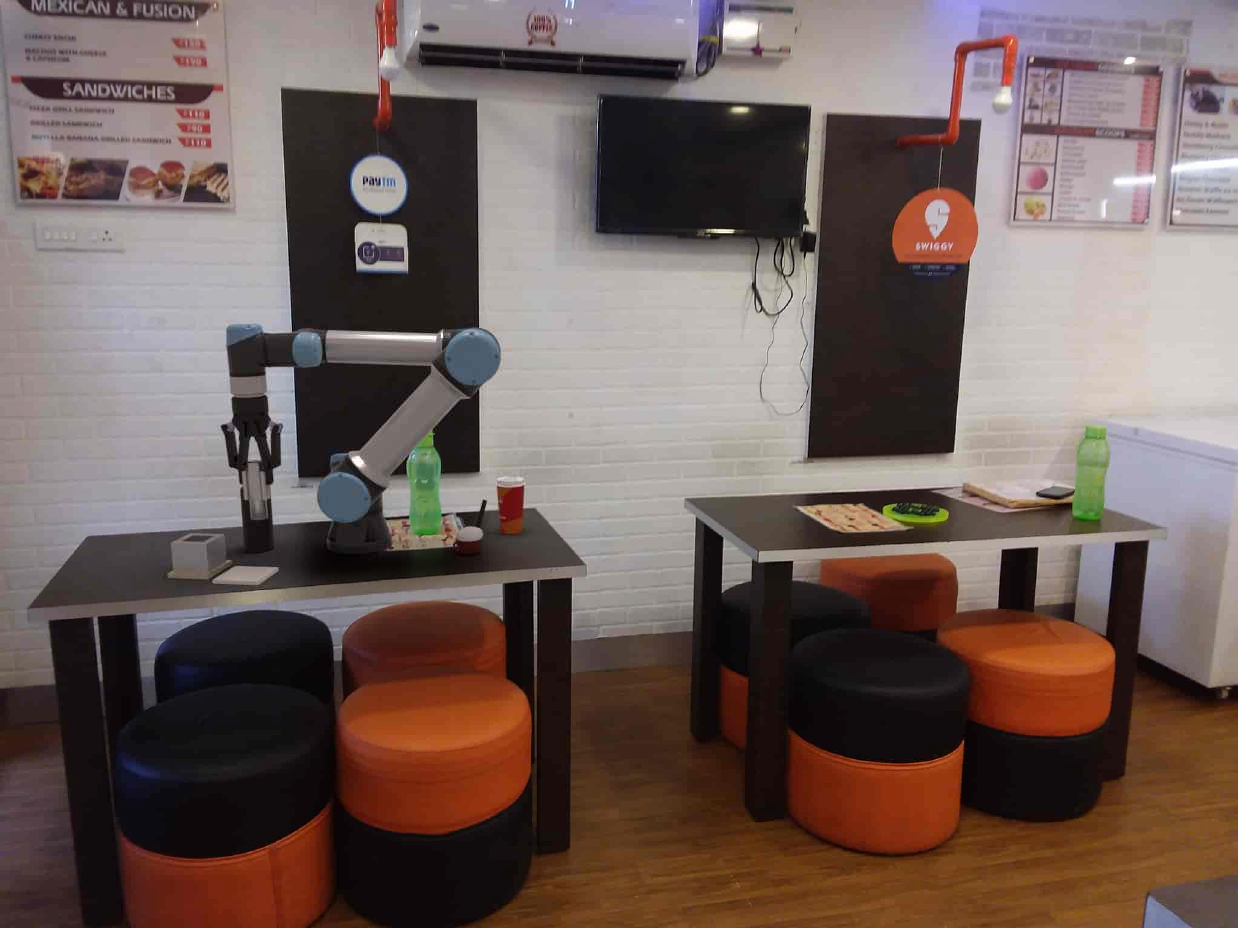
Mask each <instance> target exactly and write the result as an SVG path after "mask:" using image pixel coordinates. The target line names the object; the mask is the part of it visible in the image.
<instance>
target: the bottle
mask: <svg viewBox="0 0 1238 928" xmlns="http://www.w3.org/2000/svg"><path fill="white" fill-rule="evenodd" d="M246 469H247V468H246ZM239 494H240V495H239V498H240V508H241V520H242V521H241V522H242V523H241V525H242V534H243V535H242V536H243V549H244V551H245V552H248V553H265V552H269V551H271V550H273V549H274V548H275V537H274V536H275V535H274V520H273V505H272V504H273V503H272V497H271V498H269V499H267V511H268V518H267V519H263V520H251V513H250V501H249V500H244V490H243V485H242V486H241V487H240V489H239Z"/></svg>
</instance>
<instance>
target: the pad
mask: <svg viewBox="0 0 1238 928" xmlns="http://www.w3.org/2000/svg"><path fill="white" fill-rule="evenodd" d="M278 572H279V567H277V566H276V567H274V566H246V565H235V566H232V567H231V568H230V569H228V570H227V571H225V572H223V573H221V574H220V575H218V576H216V577H215V578H214V579H212V584H214V585H215V584H217V585H218V584H219V585H237V586H238V585H240V586H241V585H244V586H259V585H261V584H262V583H263V582H265V581H266V580H267V579H269V578H271V577H272V576H273V575H275V574H277V573H278Z"/></svg>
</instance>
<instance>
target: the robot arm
mask: <svg viewBox="0 0 1238 928" xmlns="http://www.w3.org/2000/svg"><path fill="white" fill-rule="evenodd" d="M225 336H226V337H225V338H226V345H225V348H226V353H227V354H226V355H227V362H228V364H227V365H228V372H229V373H228V374H229V388H230V389H229V391H230V394H231V395H232V397H231V398H230V400H231V411H232V414H233V415H232V418H231V421H230V422H227V423H223V424H221V425H220V430H221V431H222V434H223V435H224V440H225V448H226V455H227V461H228V466H229V468H230V469H235V470H237V471H238V472H237V473H238V482H239V485H240V486H241V485H242V486H243V490H244V500H249V489H248V478H247V469H246V468H247V466H246V462H247V461H249V453H250V452H249V451H250V441H251V439H252V438H254V441H255V442H256V445H257V449H258V454H259V456H260V460H261V461H262V465H263V470H262V471H261V472H260V473H261V485H262V498H263V500H267V499H269V498H271V499H272V490H271V485H273V484H274V482H275V481H274V469H276V468H279V467H281V465H282V446H281V445H282V444H281V443H282V442H281V441H282V440H281V439H282V437H281V434H282V431H283V428H284V424H283V423H279V422H278V423H277V422H275V421H273V420H272V418H271V417H270V413H269V411H270V407H269V397H268V395H266V393H267V392H268V384H267V370H266V368H302V369H305V368H312V367H313V368H314V367H318V366H320V364H321V363H323V364H324V363H333V364H334V363H336V364H337V363H338V364H340V363H341V364H365V365H366V364H367V365H368V364H369V365H396V366H398V365H399V366H400V365H401V366H402V365H403V366H429V367H430V368H431V369H430V370H431V371H430V374H429V375H428V376H427V377H425V379H424V380H423V381H422V383H421V384H419V386H418V387H417V388H416V389H415V390H414V391H412V392H413V393H411V394H410V395H409V396H408V397H407V398H406V400H405V401H404V402H403V403H402V404H401V405H400V407H398V409H397V410H396V411H395V412H393V414H392V415H391V416H390V417H389V418H388V420H386V421H385V423H384V424H383V425H382V426H381V427H380V428H379V429H378V430H377V431H376V432H375V433H374V434H373V436H371V438H370V439H369V440H368V441H367V442H366V443H365V444H364V445H363V447H362V448H361V449H360V450H352V451H351V450H350V451H349V452H346V453H335V454H332V455H331V457H330V462H329V466H330V472H329V473H328V474H327V475H326V476H324V478H323V479H322V480H321V481H320V482H319V485H318V487H317V492H316V502H317V505H318V507H319V509H320V511H321V512H322V513H323V514H324V515H325V516H326V517H327V518H329V519H330V520H332V521H331V524H330V528H329V531H328V535H327V538H326V539H327V540H326V541H327V542H326V545H327V546H326V547H327V550H328V551H330V552H333V553H335V554H343V555H364V554H371V553H377V552H381V551H384V550H386V549H388V548H390V547H391V546H392V543H393V542H392V534H391V531H390V528H389V526H388V523H387V520H386V517H385V515H384V507H383V506H384V505H383V503H384V502H383V494H384V492H385V491H386V490H387V488H389V487H390V476H391V475H392V473H393V472H394V471H395V470H396V469H397V468H398V467H399V466H400V465H401V464H402V463H403V462H404V461H405V459H406V458H407V457H408V456H410V454H412V452H413V451H414V450H415V448H416V447H417V446H418V445H419V444H420V443H422V441H423V440H424V439H425V438H426V436H428V435H429V434H430V432H431V431H432V430H434V428H435V427H436V426H437V425H438V424H439V423H440V422H441V420H442V419H443V418H444V417H445V416H446V415H447V414H448V413H450V410H452V408H454V406H455V405H456V404H457V403H458V402H459V401H460V400H466V399H471V398H472V397H473V396H475V394H476V393H477V392H478V391H479V389H480V388H482V387H483V385H484V384H485V383H487V382H488V381H490V380H491V379H493V377H494V376H495V375H496V374H497V372H498V370H499V368H500V364H501V360H502V358H501V357H502V355H501V354H502V353H501V351H502V350H501V346H500V342H499V341H498V339H497V337H495V335H494V334H493V333H492V332H490V331H489V330H487V329H485V328H482V327H467V328H466V327H465V328H457V329H441V330H440V331H439V332H437V333H432V332H431V333H429V332H428V333H427V332H424V333H423V332H399V331H398V332H397V331H390V332H389V331H371V330H370V331H367V330H364V331H363V330H334V329H328V330H325V329H314V328H310V327H309V328H305V327H303V328H300V329H298V330H296V331H295V330H294V331H292V332H291V331H290V332H264V329H263V326H262V325H261V323H260V324H259V323H233V324H229V325H228V326H227V327H226V329H225ZM268 428H269V431H270V447H269V444H268V436H267V430H268ZM235 430H237V432H238V442H239V443H238V444H237V439H236V433H235ZM237 445H238V446H237Z"/></svg>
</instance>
